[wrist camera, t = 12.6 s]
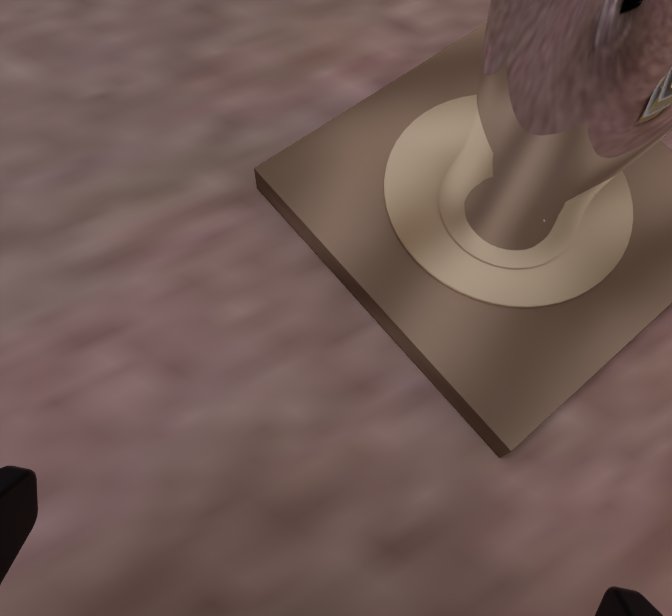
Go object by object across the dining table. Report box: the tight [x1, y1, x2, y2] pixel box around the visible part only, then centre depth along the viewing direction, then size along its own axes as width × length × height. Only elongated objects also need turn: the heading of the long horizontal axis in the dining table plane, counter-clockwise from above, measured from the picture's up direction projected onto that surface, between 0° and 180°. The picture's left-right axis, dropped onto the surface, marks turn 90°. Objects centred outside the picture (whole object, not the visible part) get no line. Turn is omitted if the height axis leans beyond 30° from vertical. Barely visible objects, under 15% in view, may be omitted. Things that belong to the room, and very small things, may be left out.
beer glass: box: [439, 0, 672, 269], centre depth 19 cm, size 7×7×15 cm
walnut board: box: [254, 23, 672, 458], centre depth 27 cm, size 16×16×2 cm
